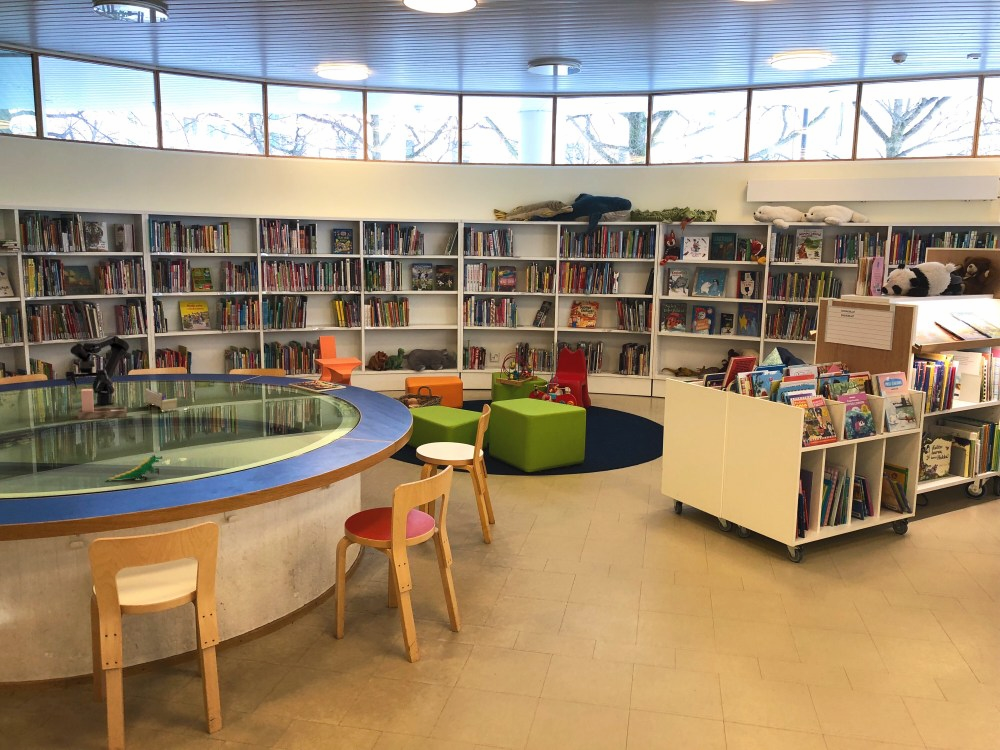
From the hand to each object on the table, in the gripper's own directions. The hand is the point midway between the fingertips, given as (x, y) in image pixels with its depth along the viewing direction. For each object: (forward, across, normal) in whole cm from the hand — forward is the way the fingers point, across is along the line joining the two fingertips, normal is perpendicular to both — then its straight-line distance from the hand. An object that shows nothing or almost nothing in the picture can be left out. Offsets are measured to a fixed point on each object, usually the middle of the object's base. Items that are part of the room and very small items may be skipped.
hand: (86, 388), depth 410 cm
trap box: (+15, +7, +3) cm, 17 cm away
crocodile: (+96, +26, -85) cm, 131 cm away
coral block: (+14, +1, +1) cm, 14 cm away
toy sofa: (+6, +35, +15) cm, 38 cm away
